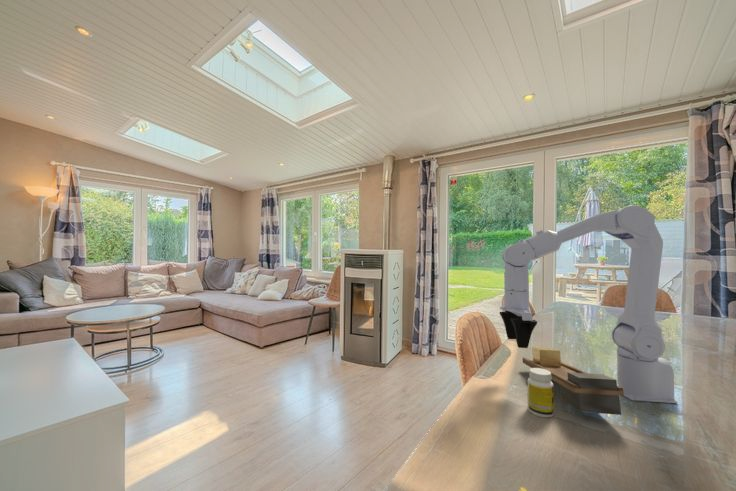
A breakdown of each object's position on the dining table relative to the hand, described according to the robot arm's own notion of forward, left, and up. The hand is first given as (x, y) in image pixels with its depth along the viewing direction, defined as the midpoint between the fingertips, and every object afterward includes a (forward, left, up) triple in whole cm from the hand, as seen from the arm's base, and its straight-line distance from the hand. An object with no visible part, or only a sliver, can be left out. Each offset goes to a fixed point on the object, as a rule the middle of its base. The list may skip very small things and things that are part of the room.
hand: (517, 343), depth 78 cm
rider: (-8, -4, -6) cm, 11 cm away
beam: (-8, +6, -9) cm, 14 cm away
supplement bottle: (+1, +15, -10) cm, 18 cm away
